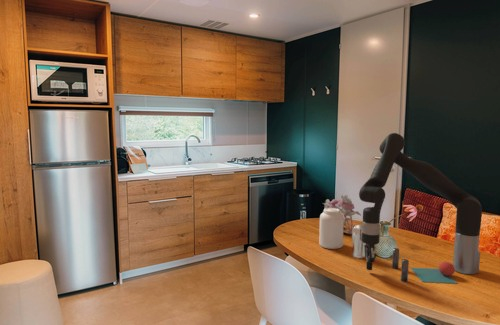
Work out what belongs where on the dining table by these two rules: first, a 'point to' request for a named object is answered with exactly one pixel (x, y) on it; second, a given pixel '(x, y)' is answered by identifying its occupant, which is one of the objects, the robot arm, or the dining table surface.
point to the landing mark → (432, 275)
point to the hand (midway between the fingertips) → (369, 269)
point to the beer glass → (357, 242)
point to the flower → (343, 209)
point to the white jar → (331, 229)
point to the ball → (446, 269)
